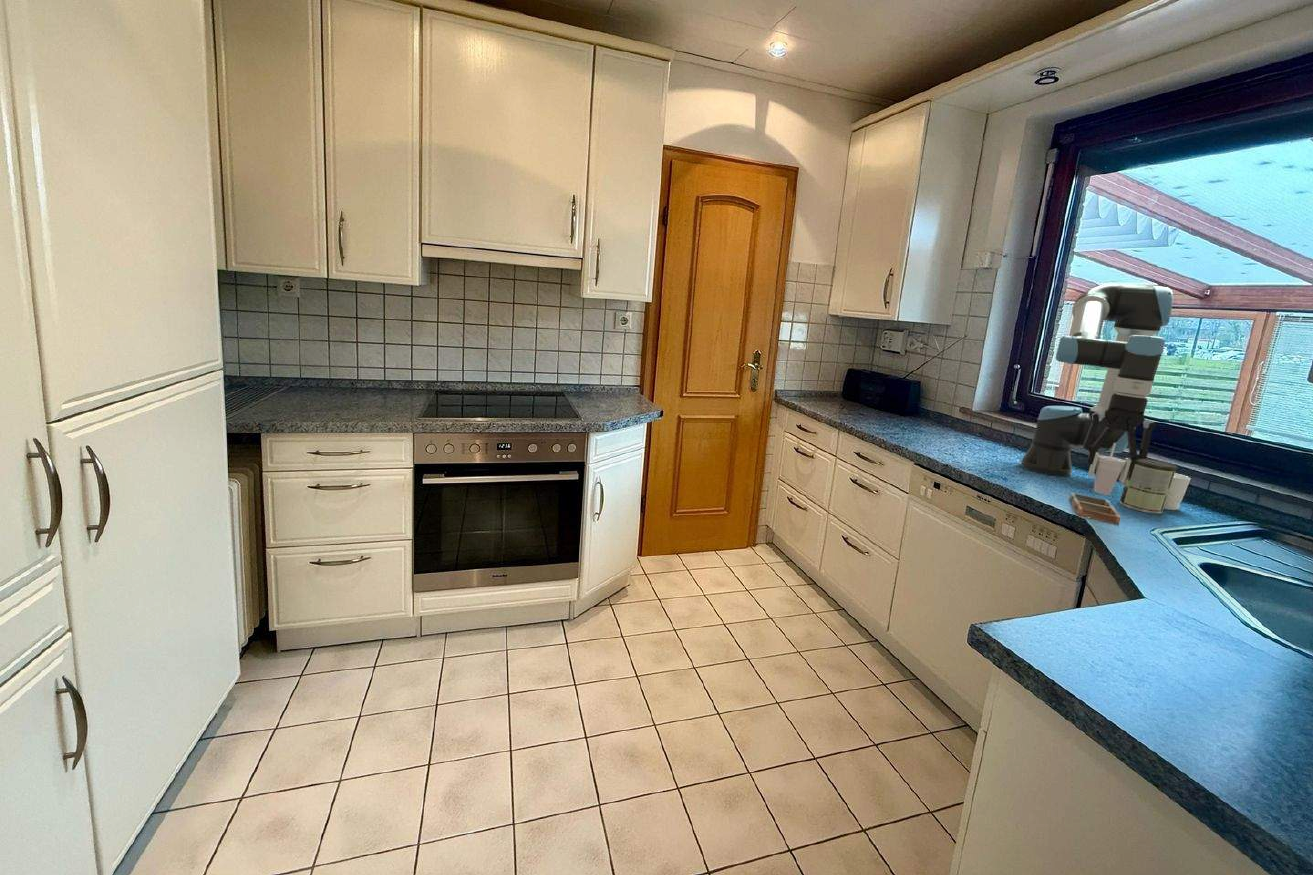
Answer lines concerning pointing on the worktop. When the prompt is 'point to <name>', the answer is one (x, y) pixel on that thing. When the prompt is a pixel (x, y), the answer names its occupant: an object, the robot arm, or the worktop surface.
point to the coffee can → (1148, 485)
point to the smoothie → (1107, 472)
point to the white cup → (1176, 491)
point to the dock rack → (1094, 508)
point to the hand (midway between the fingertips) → (1105, 478)
